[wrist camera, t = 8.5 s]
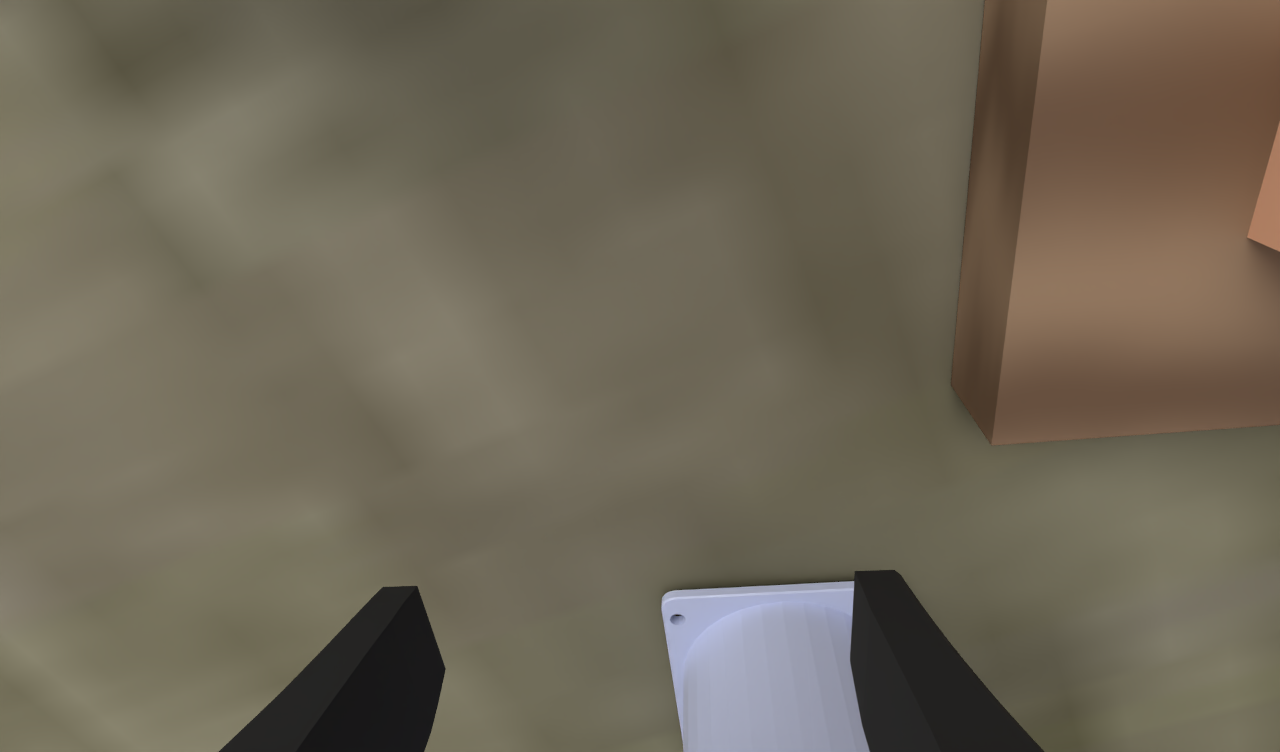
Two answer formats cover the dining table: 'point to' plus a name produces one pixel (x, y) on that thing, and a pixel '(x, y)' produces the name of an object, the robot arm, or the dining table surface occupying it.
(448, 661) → the dining table surface
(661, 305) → the dining table surface
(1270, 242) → the terracotta cube
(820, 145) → the dining table surface
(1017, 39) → the walnut base
